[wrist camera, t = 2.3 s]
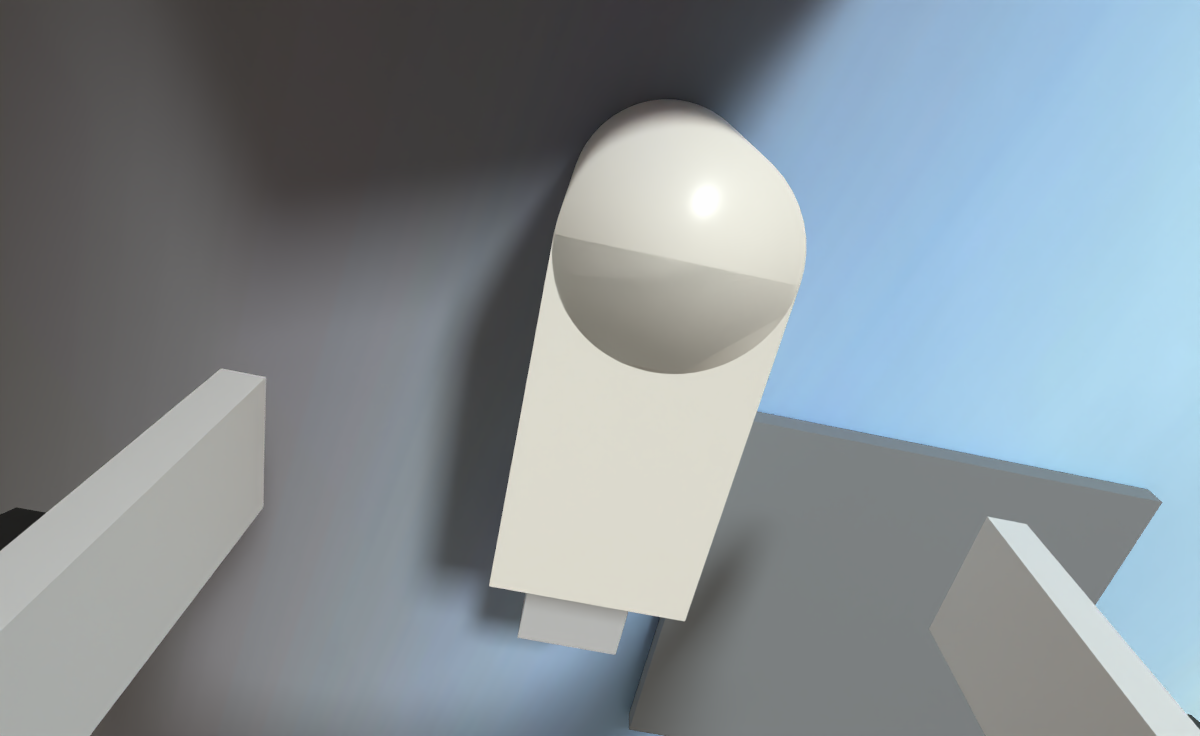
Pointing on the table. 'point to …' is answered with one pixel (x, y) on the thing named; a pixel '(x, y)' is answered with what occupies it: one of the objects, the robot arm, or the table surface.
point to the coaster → (856, 583)
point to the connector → (644, 370)
